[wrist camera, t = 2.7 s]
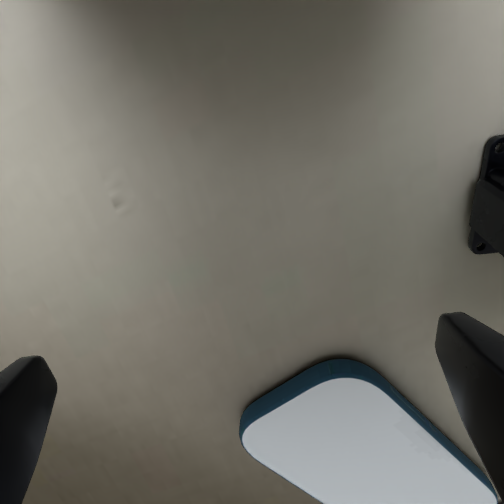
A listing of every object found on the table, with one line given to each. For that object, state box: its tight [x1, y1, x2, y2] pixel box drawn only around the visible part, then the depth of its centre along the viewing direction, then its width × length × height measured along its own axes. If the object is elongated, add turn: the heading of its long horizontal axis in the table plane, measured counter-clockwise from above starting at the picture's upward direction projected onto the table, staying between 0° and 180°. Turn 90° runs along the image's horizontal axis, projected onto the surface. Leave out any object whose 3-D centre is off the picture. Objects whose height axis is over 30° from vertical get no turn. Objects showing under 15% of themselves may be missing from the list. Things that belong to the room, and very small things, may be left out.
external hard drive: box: [239, 359, 498, 504], centre depth 31 cm, size 24×12×2 cm, turn 42°
